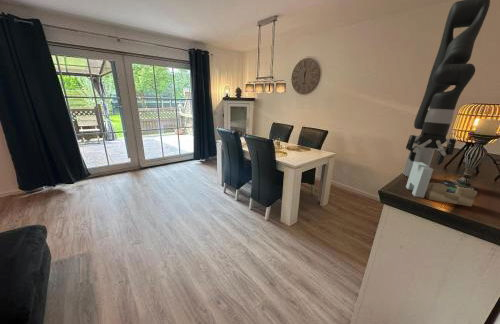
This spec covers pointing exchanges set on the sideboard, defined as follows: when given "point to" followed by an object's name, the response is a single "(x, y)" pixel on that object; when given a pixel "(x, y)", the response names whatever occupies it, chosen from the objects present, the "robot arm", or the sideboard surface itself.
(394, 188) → the sideboard surface
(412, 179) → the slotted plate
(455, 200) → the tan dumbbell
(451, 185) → the disk drive
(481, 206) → the sideboard surface
